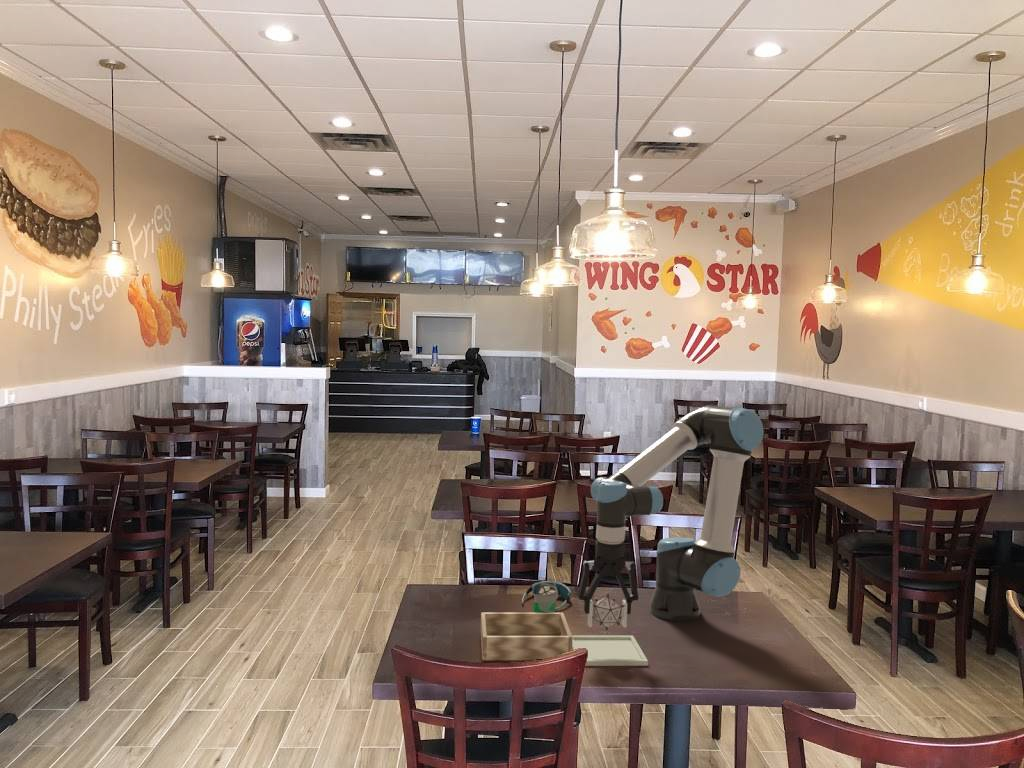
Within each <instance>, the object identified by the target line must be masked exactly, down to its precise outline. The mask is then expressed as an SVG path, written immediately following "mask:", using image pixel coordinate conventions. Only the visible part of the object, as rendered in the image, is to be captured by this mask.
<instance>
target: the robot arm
mask: <svg viewBox="0 0 1024 768" xmlns="http://www.w3.org/2000/svg"><path fill="white" fill-rule="evenodd" d="M758 415H759V414H757V413H756V412H755V411H754V410H751V409H747V408H744V407H736V406H735V407H734V406H725V405H723V406H722V405H716V404H709V405H704V406H700V407H698V408H696V409H693V410H692V411H691V412H688V413H687V414H685V415H684V416H682V417H681V418H679V419H678V420H677V421H675V422H674V423H673V424H672V425H671V429H670V430H669V431H668V432H666V433H665V434H663V435H662V436H661V437H660V438H659V439H657V440H656V441H655V442H654V443H652V444H650V445H649V446H648V447H647V448H646V449H644V450H643V451H642V452H640V453H639V454H638V455H637V456H635V457H634V458H632V459H631V460H630V461H628V463H627V462H626V464H625V465H623V466H622V467H621V468H619V469H617V471H615V472H614V473H613V474H612V475H610V476H609V477H606V476H600V477H597V478H596V479H594V481H593V482H592V483H591V486H590V495H591V497H592V499H593V500H594V501H595V502H596V531H595V538H596V539H597V540H596V541H595V553H594V554H595V555H594V558H593V560H588V561H587V560H585V559H584V560H583V561H582V565H583V571H582V575H581V580H580V583H579V588H578V592H577V596H578V599H579V600H581V601H583V602H584V604H583V605H584V606H583V611H584V614H587V626H588V627H589V628H593V618H592V617H593V615H594V609H593V608H594V607H593V605H594V601H593V600H592V598H593V596H594V594H595V592H596V591H597V589H598V587H599V584H600V583H601V581H602V579H603V578H604V577H605V578H606V577H614V578H616V580H617V582H618V584H619V586H620V588H621V591H622V594H623V597H624V599H622V601H621V604H622V605H625V606H624V607H622V609H621V623H620V625H622V628H625V629H626V628H627V625H628V624H627V623H628V622H627V621H628V615H630V614H631V612H632V603H633V602H634V601H638V600H639V592H638V586H637V579H636V573H635V572H636V567H637V565H636V563H635V562H634V561H633V560H631V561H628V560H626V559H625V545H626V543H625V542H624V541H625V539H626V521H627V518H629V517H639V516H650V515H655V514H657V513H659V512H661V510H662V509H663V506H664V495H663V493H662V492H661V489H659V488H658V487H656V486H654V485H653V486H651V485H650V486H649V485H646V486H644V484H645V483H647V482H648V481H650V480H651V479H652V478H654V476H656V475H657V474H658V473H659V472H661V471H662V470H664V469H665V468H666V467H667V466H669V465H670V464H671V463H672V462H673V461H675V460H676V459H678V458H679V457H680V456H682V455H683V454H684V453H685V452H686V451H688V450H690V451H691V450H694V449H696V448H697V447H698V446H700V445H704V444H710V445H709V451H710V452H711V454H712V455H713V456H712V457H713V461H712V466H711V472H710V479H709V485H708V490H707V496H706V497H707V498H706V502H705V508H704V515H703V521H702V526H701V533H700V537H699V538H698V539H696V538H692V537H683V536H682V537H679V536H678V537H666V538H662V539H660V540H659V542H658V543H657V551H656V570H655V571H656V572H655V579H656V580H655V588H654V592H653V593H652V596H651V600H650V601H649V606H648V607H649V609H648V610H649V613H650V614H652V615H653V616H654V617H656V618H659V619H662V620H666V621H670V622H671V621H672V622H691V621H694V620H697V619H698V618H700V616H701V607H700V604H699V600H698V596H697V593H696V590H698V591H700V592H703V594H704V593H705V595H708V596H709V595H711V596H713V597H718V598H720V597H725V596H727V595H729V594H730V593H731V592H732V591H733V590H734V589H735V588H736V587H737V585H738V583H739V581H740V578H741V566H740V563H739V562H738V561H737V560H736V559H735V555H736V554H735V553H736V550H735V548H734V547H733V545H732V543H731V542H732V539H733V538H732V537H733V531H734V527H735V518H736V514H737V509H738V507H737V506H738V502H739V496H740V489H741V482H742V477H743V470H744V465H745V462H746V461H747V460H748V459H749V460H750V458H751V456H752V451H754V450H756V449H758V448H759V447H760V445H761V444H762V442H763V438H764V425H763V421H762V420H761V419H760V417H759V416H758ZM593 566H594V567H595V568H596V572H595V573H594V577H593V579H592V580H591V583H590V585H589V587H588V588H587V586H588V581H589V577H590V571H591V570H592V569H593ZM625 567H626V570H627V571H628V579H629V580H628V581H629V584H630V585H629V586H630V591H631V594H630V593H629V591H628V587H627V586H626V583H625V581H624V579H623V576H622V573H621V572H622V570H623V569H624V568H625ZM586 589H587V590H586ZM622 605H621V606H622Z"/></svg>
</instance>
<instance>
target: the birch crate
mask: <svg viewBox="0 0 1024 768" xmlns="http://www.w3.org/2000/svg"><path fill="white" fill-rule="evenodd" d="M572 635H573V634H572V633H571V630H570V627H569V624H568V622H567V619H566V617H565V614H564V612H555V613H534V612H517V611H516V612H513V611H512V612H509V611H506V612H505V611H504V612H498V611H497V612H492V611H491V612H489V611H488V612H480V644H481V646H480V647H481V660H482V661H537V660H536V659H544V658H548V657H553V656H558V655H561V654H563V653H566V652H570V651H572ZM572 652H573V651H572Z"/></svg>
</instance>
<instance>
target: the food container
mask: <svg viewBox="0 0 1024 768" xmlns="http://www.w3.org/2000/svg"><path fill="white" fill-rule="evenodd" d="M533 596H534V597H533V613H556V611H555V608H556V602H557V601H556V600H557V599H559V596H558V591H557V589H556V587H555V586H553V585H550V584H546V583H541V584H540V589H539V590H538V591H537V594H536V595H534V594H533Z"/></svg>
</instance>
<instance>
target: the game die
mask: <svg viewBox="0 0 1024 768" xmlns="http://www.w3.org/2000/svg"><path fill="white" fill-rule="evenodd" d="M595 602H596V603H595V604H593V608H594V609H593V614H592V619H594V620H596V621H597V622H599V626H601V625H603V626H604V627H605V630H606V631H608V630H609V627H611V626H613V625H618V626H621V623H620V622H619V621H620V619H621V620H622V616H621V614H622V607H624V606H625V605H621V604H619V602H617V601H616V599H614V598H613V599H612V598H611V597H610V594H609V593H607V594H606V597H603V598H601V599H599V600H598V599H597V598H595Z"/></svg>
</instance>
